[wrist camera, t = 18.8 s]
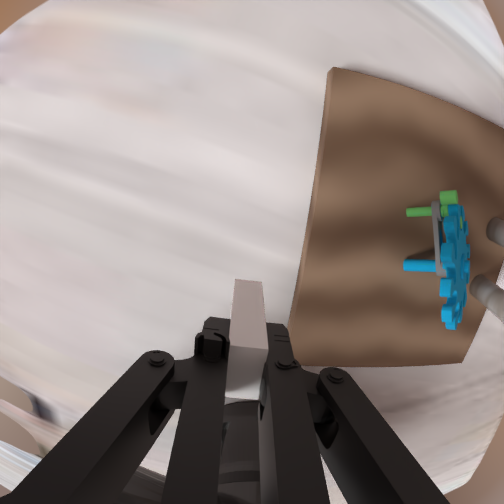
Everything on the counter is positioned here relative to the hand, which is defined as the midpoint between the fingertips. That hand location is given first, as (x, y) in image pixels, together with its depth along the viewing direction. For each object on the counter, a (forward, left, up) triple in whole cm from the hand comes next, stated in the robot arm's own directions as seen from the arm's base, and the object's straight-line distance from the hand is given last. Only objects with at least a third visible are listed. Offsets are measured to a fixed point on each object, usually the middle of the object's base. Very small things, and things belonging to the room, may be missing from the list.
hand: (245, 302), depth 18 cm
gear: (+3, -16, -8) cm, 18 cm away
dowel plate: (+3, -16, -9) cm, 18 cm away
